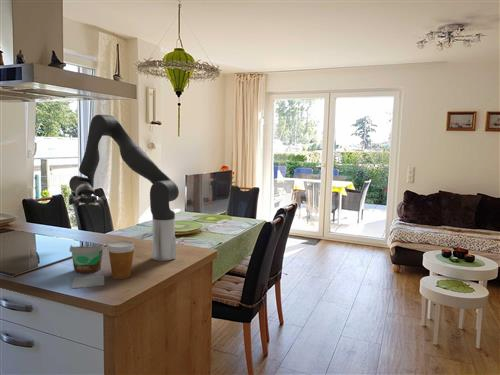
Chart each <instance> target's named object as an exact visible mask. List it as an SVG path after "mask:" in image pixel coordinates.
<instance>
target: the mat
mask: <svg viewBox="0 0 500 375" xmlns="http://www.w3.org/2000/svg"><path fill="white" fill-rule="evenodd" d="M103 286H105V275H104V274H103V275H101V274H100V275H90V276H82V277H81V276H78V277H73V280H72V284H71V289H74V290H75V289H83V288H92V287H93V288H94V287H103Z"/></svg>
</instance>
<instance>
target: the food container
mask: <svg viewBox="0 0 500 375" xmlns="http://www.w3.org/2000/svg"><path fill="white" fill-rule="evenodd" d="M104 250H105V244H104V243H102V244H99V245H87V244H86V245H81V246H74V245H72V244H70V247H69V252H70V253H71V256H72V258H71V259H72V266H73V271H74V273H76V274H80V275H86V274H94V273H96V272H99V271H100V270H101V269H102V261H103V251H104Z"/></svg>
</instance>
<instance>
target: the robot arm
mask: <svg viewBox="0 0 500 375" xmlns="http://www.w3.org/2000/svg"><path fill="white" fill-rule="evenodd" d="M104 136H105V137H108V136H109V138H111V139H113V141H115V143H116V145H117V146H118V149H119V154H120V157H121V159H122V160H123V162H124V163H125V165H127V166H128V168H130V169H131V171H133V172H135V173H136V174H138V175H139V176H141V177H142V178H144V179H146V180H147V181H149V182H150V183H151V184H152V185H151V186H150V190H149V203H150V204H149V206H150V213H151V215H152V227H151V228H152V238H151V239H152V242H151V243H152V253H151V254H152V256H151V257H152V260H154V261H158V262H159V261H161V262H164V261H170V260H175V259H176V254H177V252H176V248H177V247H176V243H177V242H176V235H175V233H176V232H175V230H176V228H175V223H176V221H175V219H176V217H175V216H176V214H175V211H174V210H172V209H171V208H170V202H173V201H176V199H177V198H178V197H179V192H180V191H179V190H180V189H179V187H178V185H177V184H176V183H175V181H174V180H173V179H172V178H170V177H169V176H168V175H167V174H165V173H164V172H163V171H162V170H161V169H160V168H159V167H158V165H156V163H155V162H154V161H153V160H152V159H151V158H150V157H149V155H148V154H147V153H146V151H144V150H143V149H142V147H141V146H140V145H138V144H137V142H136V141H135V140H134V139H133V138H132V137H131V136H130V135H129V133H128V132H127V130H126V129H125V128H124V127H123V125H122V124H121V122H120V121H119V120H118V119H117V118H116V117H115V116H113V115H108V114H95V115H94V116H93V117H92V119H91V121H90V124H89V128H88V135H87V140H86V146H85V150H84V153H83V157H82V160H81V163H80V165H79V168H78V171H79V173H80V174H82V175H83V176H82V175H81V176H80V175H74V176H71V178H70V180H69V182H68V185H69V188H70V190H71V191H72V192H74V193H75V196H74V195H73V194H68V205H70V206H72V205H74V207H76V208H77V209H78V208H80V206H81V205H82V206H90V205H94V206H98V207H99V209H102V208H104V206H107V205H108V204H107V202H108V201H107V200H108V199H107V197H106V196H105V195H101V196H100V197H99V196H97V195H96V192H95V190H94V186H95V174H96V170H97V169H98V166H99V162H100V160H101V159H100V151H99V144H100V141H101V140H102V138H103V137H104Z"/></svg>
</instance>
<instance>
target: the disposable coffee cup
mask: <svg viewBox="0 0 500 375" xmlns="http://www.w3.org/2000/svg"><path fill="white" fill-rule="evenodd" d="M135 248H136V246H135V243H134V242H133V241H128V240H120V241H119V240H118V241H112V242H110V243H109V244H108V246H107V252H108V254H109V255H108V256H109V262H110V263H109V264H110V268H111V269H110V270H111V276H112V278H113V279H114V280H115V279H116V280H120V279H121V280H122V279H127V278H130V277H131V273H132V268H133V267H132V265H133V258H134V257H133V256H134V250H135Z"/></svg>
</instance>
